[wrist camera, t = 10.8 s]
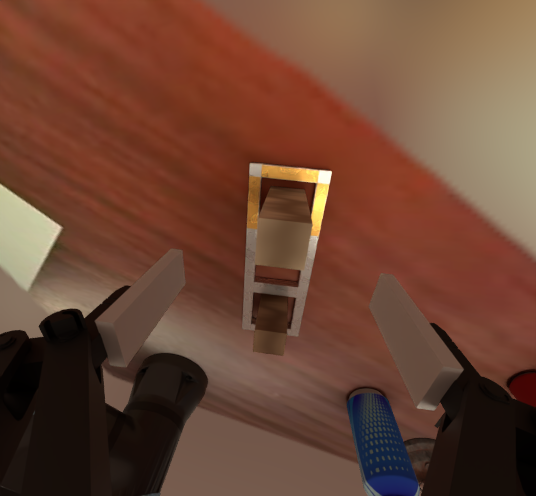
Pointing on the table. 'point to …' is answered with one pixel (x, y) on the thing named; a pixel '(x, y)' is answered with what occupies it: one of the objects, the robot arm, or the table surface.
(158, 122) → the table surface
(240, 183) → the table surface
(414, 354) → the robot arm
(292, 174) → the white yellow rectangular frame
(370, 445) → the beer can
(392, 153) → the table surface
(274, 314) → the walnut peg
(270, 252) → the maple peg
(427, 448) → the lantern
